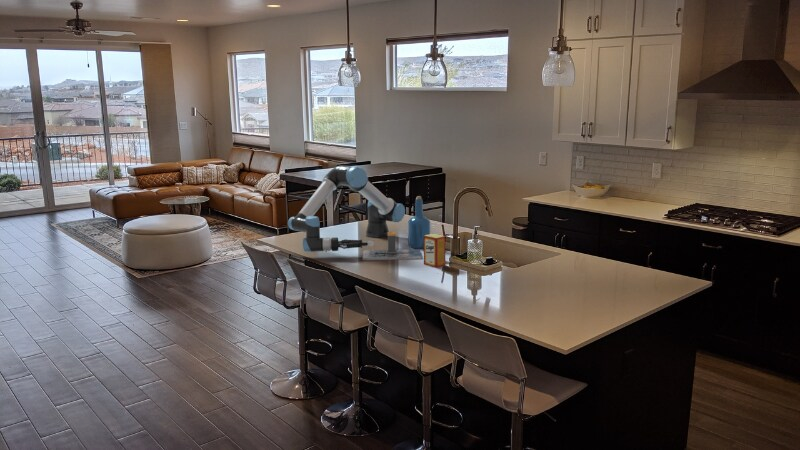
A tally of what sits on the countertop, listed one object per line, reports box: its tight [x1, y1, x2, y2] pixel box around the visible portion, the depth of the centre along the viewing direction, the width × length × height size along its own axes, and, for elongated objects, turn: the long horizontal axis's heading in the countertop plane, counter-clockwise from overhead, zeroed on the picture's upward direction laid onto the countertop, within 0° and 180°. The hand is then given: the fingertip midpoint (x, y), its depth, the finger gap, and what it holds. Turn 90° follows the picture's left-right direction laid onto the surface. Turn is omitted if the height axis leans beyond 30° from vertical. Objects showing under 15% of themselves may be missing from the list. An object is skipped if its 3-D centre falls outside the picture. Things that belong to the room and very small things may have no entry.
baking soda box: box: [423, 233, 446, 268], centre depth 334 cm, size 10×6×16 cm
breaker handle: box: [385, 231, 398, 254], centre depth 354 cm, size 4×6×11 cm
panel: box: [362, 248, 422, 261], centre depth 355 cm, size 16×32×2 cm, turn 92°
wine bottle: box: [407, 195, 432, 250], centre depth 374 cm, size 14×13×30 cm
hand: (373, 243), depth 354 cm, fingers closed
